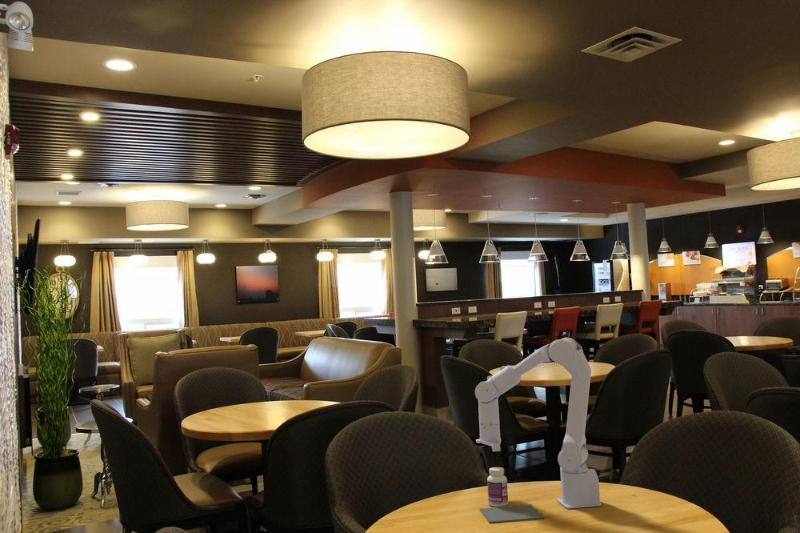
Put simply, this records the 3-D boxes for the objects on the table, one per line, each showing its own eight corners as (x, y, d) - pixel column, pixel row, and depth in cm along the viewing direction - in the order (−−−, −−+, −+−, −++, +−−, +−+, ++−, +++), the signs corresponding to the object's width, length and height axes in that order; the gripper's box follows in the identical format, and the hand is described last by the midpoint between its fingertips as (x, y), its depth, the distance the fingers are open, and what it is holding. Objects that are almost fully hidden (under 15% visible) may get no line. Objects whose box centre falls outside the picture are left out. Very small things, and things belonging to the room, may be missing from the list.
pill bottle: (507, 507, 178) (505, 471, 179) (487, 507, 179) (485, 471, 180) (508, 501, 183) (506, 466, 184) (489, 501, 184) (487, 466, 185)
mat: (530, 505, 179) (530, 504, 179) (544, 518, 168) (544, 516, 168) (479, 510, 177) (479, 508, 177) (489, 523, 166) (489, 521, 166)
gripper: (470, 420, 197) (472, 466, 196) (481, 428, 182) (483, 479, 182) (493, 418, 198) (496, 465, 197) (506, 427, 183) (509, 477, 182)
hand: (491, 471), depth 189 cm, fingers closed
